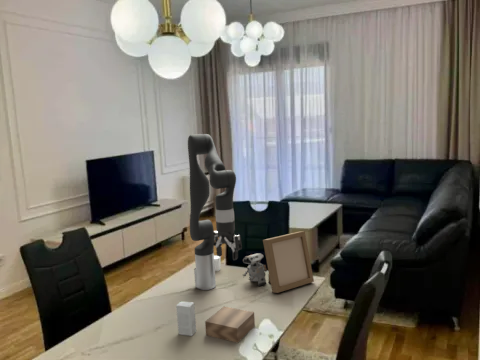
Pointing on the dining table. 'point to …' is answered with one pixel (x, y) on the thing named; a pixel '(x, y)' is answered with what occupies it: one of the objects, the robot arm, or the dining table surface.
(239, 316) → the walnut block
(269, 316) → the dining table surface
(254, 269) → the figurine
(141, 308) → the dining table surface
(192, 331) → the skincare box
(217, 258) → the white round piece
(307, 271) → the photo frame
